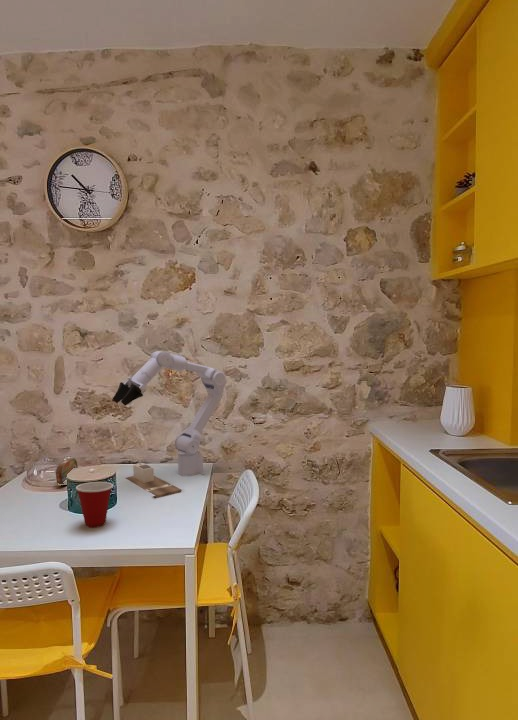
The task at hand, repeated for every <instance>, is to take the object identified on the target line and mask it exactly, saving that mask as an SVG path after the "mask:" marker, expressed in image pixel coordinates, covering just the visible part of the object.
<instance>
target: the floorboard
mask: <svg viewBox="0 0 518 720" xmlns="http://www.w3.org/2000/svg"><path fill="white" fill-rule="evenodd" d="M125 479H126V480H127V481H129V482H131V483H133V484H135V485H136V486H138V487H140V488H141V489H143V490H145V491H147V492H148V493H150V494H152V495H154V496H152V497H153V498H154V499H160V498H163V497H168V496H172V495H175V494H179V493H182V489H181V488H179V487H177V486H176V485H174V484H172V483H169V482H167V481H166V480H163V479H161V478H159V477H158V476H156V475H154V481H150V482H146V483H143V482H141V481H140V480H138V479H136V478H134V475H132V476H127V477H125Z"/></svg>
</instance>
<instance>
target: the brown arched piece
mask: <svg viewBox="0 0 518 720" xmlns="http://www.w3.org/2000/svg"><path fill="white" fill-rule="evenodd" d="M73 468H78V469H79V466H78V461H77V460H76V459H75V458H68V459H67V458H66V459H65V460H64V461H62V462H61V463H60V464H58V465H57V466H56V471H55V478H56V480H55V481H56V484H57V483H59V484H64V483H63V482H64V481H65V480H66V477H67V474H68V473H69V472H70V471H71V470H72V469H73Z"/></svg>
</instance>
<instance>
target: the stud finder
mask: <svg viewBox="0 0 518 720" xmlns="http://www.w3.org/2000/svg"><path fill="white" fill-rule="evenodd" d="M132 467H133V469H132V470H133V471H132V472H133V476H134V478H136V479H138V480H140V481H141V482H143V483H146V482H150V481H154V476H155V475H154V467H152V466H150V465H148V464H146V463H144V462H140V463H136V464H135V463H134V464H133V466H132Z"/></svg>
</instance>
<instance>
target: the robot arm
mask: <svg viewBox="0 0 518 720" xmlns="http://www.w3.org/2000/svg"><path fill="white" fill-rule="evenodd" d="M163 368H166V369H169V370H174V371H178V372H182V371H183V370H185V371H186V370H187V371H190V372H193V373H195V374H198V377H199V378H200V381H201V383H202V384H203V387H204V389H206V392H207V396H206V398H205V399H204V401H203V402H202V404H201V406H200V408H199V409H198V411H197V413H196V414H195V416H194V418H193V419H192V422H191V423H190V425H189V426H188V427H187V428H186V429H183V430H182V432H181V433H180V434H179V435H178V436H176V438H175V439H174V447H175V448H176V449H177V460H178V461H177V467H178V469H177V471H178V472H177V473H178V475H179V476H182V477H183V476H184V477H187V476H188V477H189V476H194V475H197V474H199V475H201V476H202V475H203V476H204V475H205V473H204V457H203V454H202V452H201V451H199V449H200V445H201V442H202V440H203V439H202V436H201V435H202V432H203V431H204V429H205V427H206V426H207V424H208V423H209V420H210V419H211V417H212V415H213V413H214V412H215V410H216V408H217V407H218V406H219V403H220V401H221V400H222V399H223V394H224V389H225V387H226V384H227V378H226V375H225V373H224V372H223V371H220V370H218V369H216V368H213V367H210V366H208V365H207V366H206V365H204V364H198V363H196V362H195V363H194V362H191V361H188V360H187V359H186V358H185V357H184V356H183V355H182V354H178V353H177V355H176V354H173V353H171V352H170V351H165V350H164V351H163V350H162V351H161V350H156V351H154V352H151V354H150V356H149V360H148V361H146V362H145V364H143V365H142V366H141V368H140V369H138V371H137V372H136V373H134V375H133V376H132V377H131V376H127V380H126V381H125V382H120V383H119V386H118V387H117V388H118V389H117V390H116V393H115V394H114V395H113V397H112V400H113V401H114V403H115V404H117V403H119V402H121V404H123V405H124V406H125V407H126V406H127V405H129V404H130V403H132V402H134V401H135V400H136V399H139V398H142V397H143V396H144V394H143V392H145V391H146V390H147V385H148V384H149V383H150V382H151V381H152V380H153V379H154V378H155V377H156V376H157V375H158V374H159V372H160V371H161V370H162V369H163Z"/></svg>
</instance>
